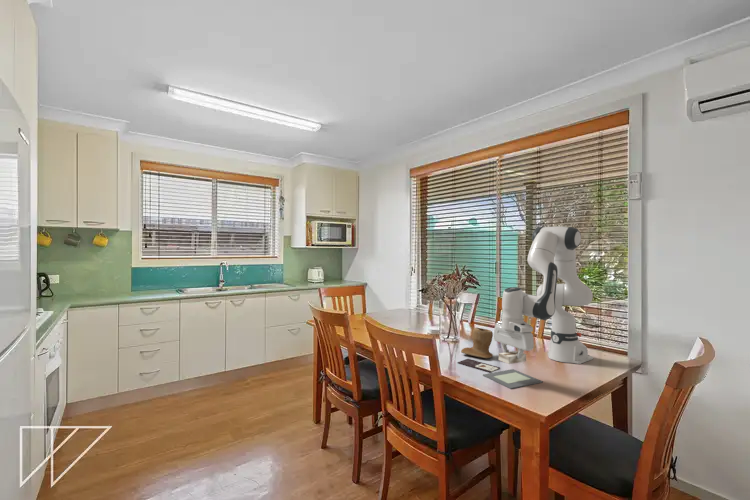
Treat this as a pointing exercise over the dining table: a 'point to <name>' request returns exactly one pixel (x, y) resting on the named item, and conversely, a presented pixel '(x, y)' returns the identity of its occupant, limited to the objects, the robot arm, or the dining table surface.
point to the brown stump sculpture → (480, 343)
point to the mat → (512, 378)
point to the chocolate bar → (478, 365)
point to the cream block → (511, 357)
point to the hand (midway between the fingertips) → (512, 355)
